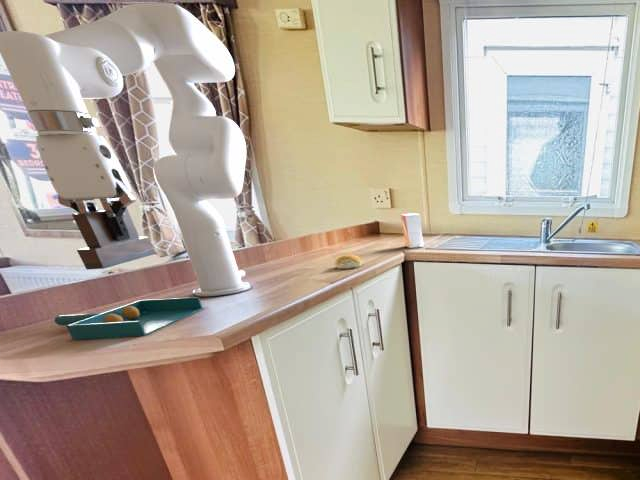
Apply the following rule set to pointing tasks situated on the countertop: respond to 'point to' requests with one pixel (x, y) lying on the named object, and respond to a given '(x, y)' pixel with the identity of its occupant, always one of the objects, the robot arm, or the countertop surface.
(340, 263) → the bread roll
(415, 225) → the small box
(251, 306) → the countertop surface
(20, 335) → the countertop surface
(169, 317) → the dustpan
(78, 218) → the stepped wooden block
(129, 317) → the orange round ball
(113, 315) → the crumb
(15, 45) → the robot arm
